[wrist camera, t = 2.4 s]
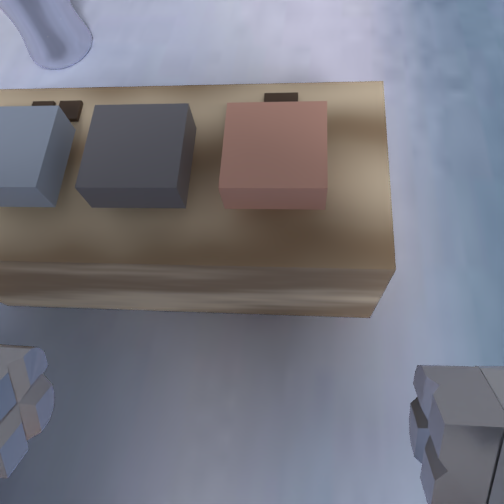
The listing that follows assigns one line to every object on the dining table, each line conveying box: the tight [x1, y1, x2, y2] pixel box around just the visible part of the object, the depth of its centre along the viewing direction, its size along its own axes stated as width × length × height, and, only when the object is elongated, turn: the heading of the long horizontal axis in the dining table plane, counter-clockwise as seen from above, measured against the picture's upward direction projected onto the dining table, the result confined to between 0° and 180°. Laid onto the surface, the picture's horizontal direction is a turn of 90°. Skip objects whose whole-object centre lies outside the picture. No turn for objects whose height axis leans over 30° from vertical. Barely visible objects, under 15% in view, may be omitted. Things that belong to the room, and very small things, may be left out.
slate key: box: [0, 106, 76, 207], centre depth 24 cm, size 5×5×2 cm
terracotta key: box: [218, 101, 328, 210], centre depth 23 cm, size 5×5×2 cm
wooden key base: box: [0, 81, 396, 318], centre depth 30 cm, size 12×26×9 cm, turn 86°
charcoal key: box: [75, 103, 197, 208], centre depth 24 cm, size 5×5×2 cm
